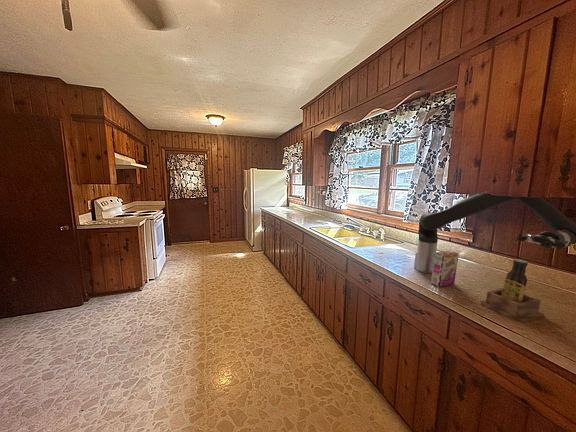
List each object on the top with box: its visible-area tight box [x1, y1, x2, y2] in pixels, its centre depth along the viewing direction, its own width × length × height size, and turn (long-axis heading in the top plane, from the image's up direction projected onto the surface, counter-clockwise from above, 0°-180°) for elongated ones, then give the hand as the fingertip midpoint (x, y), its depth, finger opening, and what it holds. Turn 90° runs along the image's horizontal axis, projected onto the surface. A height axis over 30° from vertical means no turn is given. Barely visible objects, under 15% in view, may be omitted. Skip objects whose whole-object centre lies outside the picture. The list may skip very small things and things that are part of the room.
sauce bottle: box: [501, 258, 529, 303], centre depth 95 cm, size 7×6×20 cm
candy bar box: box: [430, 250, 460, 288], centre depth 118 cm, size 11×5×16 cm, turn 111°
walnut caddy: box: [480, 287, 544, 324], centre depth 96 cm, size 14×14×6 cm
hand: (531, 241), depth 100 cm, fingers open, 8 cm apart
